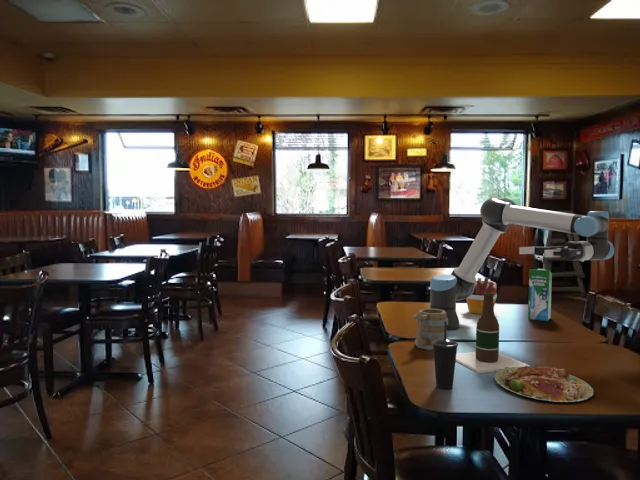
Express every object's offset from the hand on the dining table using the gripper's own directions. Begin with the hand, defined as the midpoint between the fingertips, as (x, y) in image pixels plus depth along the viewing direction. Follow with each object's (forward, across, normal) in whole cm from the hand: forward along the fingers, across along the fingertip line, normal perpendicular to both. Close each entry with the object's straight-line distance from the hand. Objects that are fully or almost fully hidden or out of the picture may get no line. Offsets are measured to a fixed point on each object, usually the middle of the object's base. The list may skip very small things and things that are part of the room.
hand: (532, 252), depth 192 cm
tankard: (+36, +15, -38) cm, 54 cm away
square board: (+25, -8, -38) cm, 46 cm away
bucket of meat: (-25, +67, -38) cm, 81 cm away
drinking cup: (+53, -26, -38) cm, 70 cm away
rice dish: (+24, -34, -39) cm, 57 cm away
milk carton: (-45, +47, -38) cm, 76 cm away
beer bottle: (+25, -8, -37) cm, 45 cm away
